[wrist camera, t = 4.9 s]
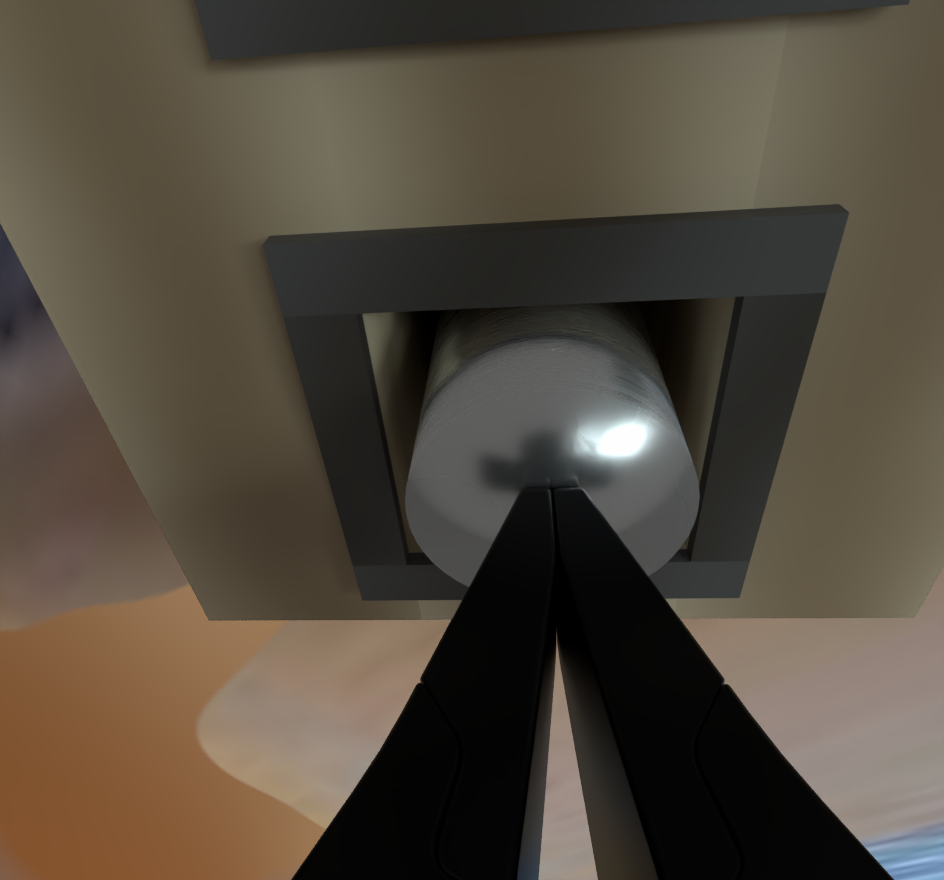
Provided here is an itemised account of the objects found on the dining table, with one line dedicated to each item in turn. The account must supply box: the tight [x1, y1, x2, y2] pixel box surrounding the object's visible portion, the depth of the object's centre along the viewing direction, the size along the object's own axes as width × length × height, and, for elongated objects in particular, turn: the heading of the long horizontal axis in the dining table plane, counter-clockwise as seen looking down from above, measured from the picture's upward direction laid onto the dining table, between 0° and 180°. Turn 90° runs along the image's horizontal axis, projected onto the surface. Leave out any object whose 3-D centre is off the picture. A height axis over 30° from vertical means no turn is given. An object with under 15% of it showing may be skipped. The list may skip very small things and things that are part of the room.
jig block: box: [0, 0, 944, 620], centre depth 10 cm, size 14×18×6 cm
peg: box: [405, 301, 700, 587], centre depth 11 cm, size 4×4×6 cm
